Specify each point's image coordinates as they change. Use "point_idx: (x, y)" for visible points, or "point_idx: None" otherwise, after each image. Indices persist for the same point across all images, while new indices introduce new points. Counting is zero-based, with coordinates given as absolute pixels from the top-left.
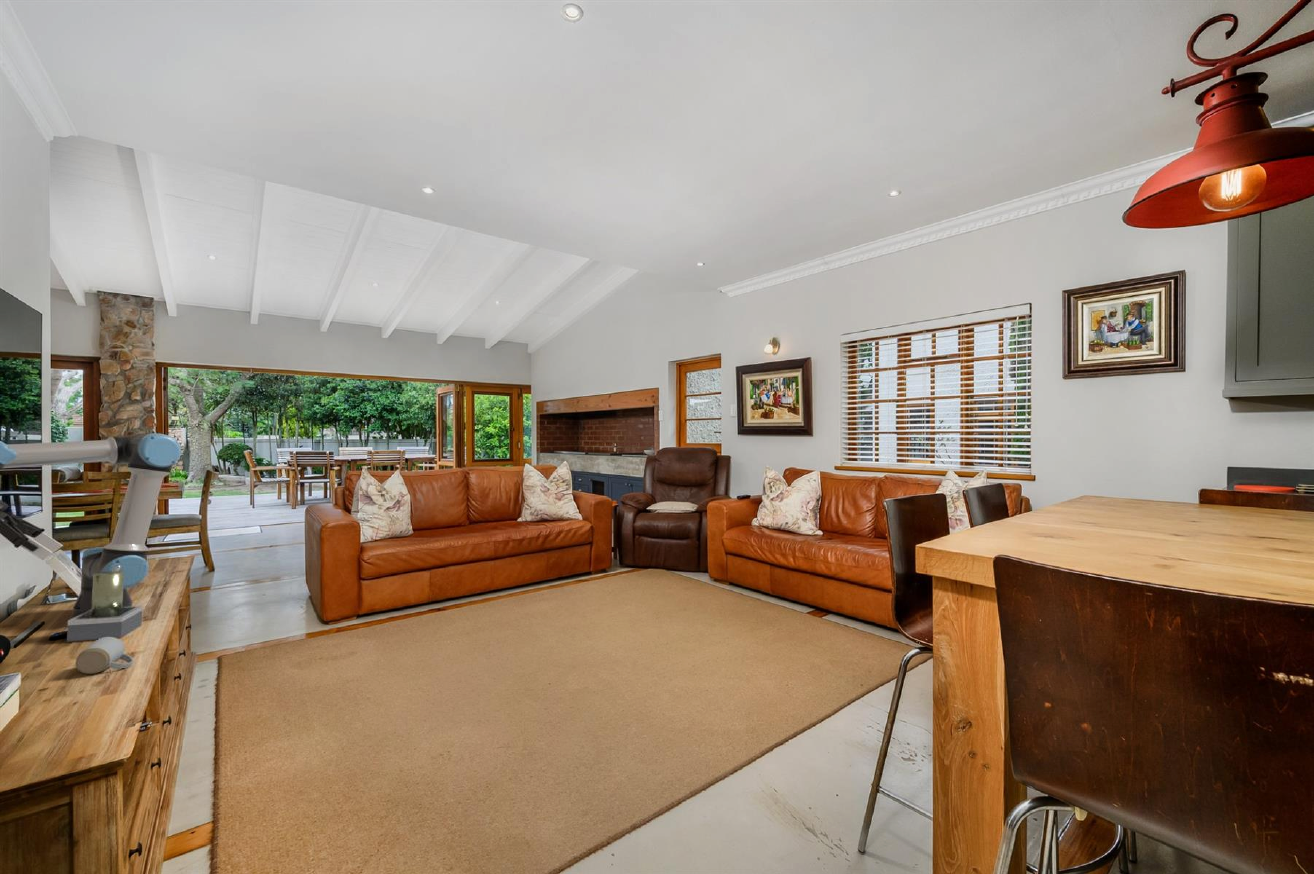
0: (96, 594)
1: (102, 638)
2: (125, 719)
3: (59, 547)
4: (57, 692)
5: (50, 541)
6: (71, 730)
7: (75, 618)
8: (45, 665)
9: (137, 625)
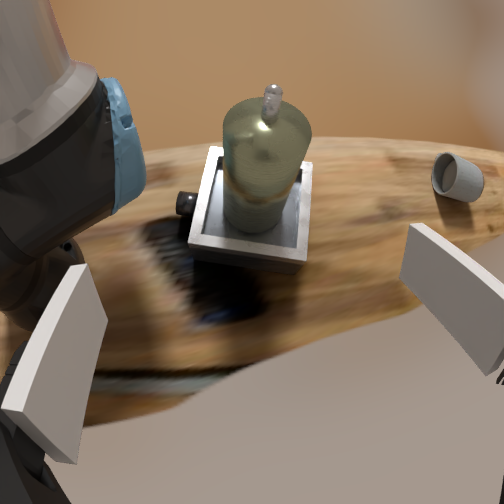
0: (292, 184)
1: (462, 167)
2: None
3: (92, 285)
4: (496, 212)
5: (69, 337)
6: None
7: (291, 250)
8: None
9: None
